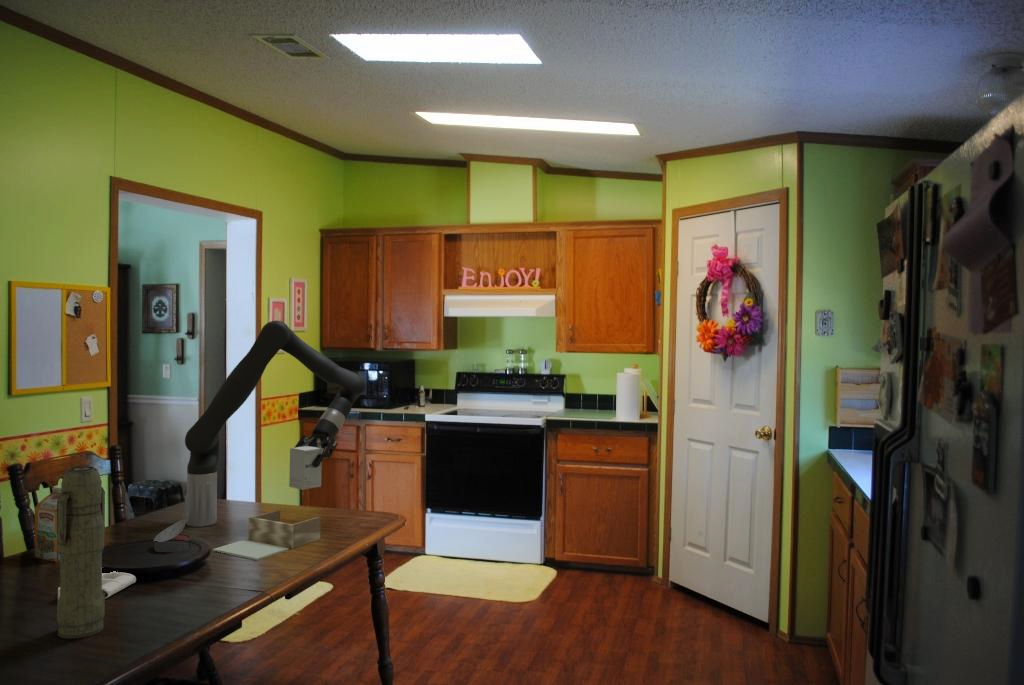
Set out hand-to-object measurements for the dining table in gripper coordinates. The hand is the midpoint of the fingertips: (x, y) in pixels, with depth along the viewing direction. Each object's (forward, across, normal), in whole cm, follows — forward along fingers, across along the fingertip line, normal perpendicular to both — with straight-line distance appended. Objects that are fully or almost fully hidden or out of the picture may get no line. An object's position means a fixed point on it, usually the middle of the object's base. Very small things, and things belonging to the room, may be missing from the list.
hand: (304, 464), depth 244 cm
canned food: (+38, -22, -6) cm, 45 cm away
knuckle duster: (+63, -6, -30) cm, 70 cm away
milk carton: (+53, -42, -21) cm, 70 cm away
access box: (+21, 0, +10) cm, 23 cm away
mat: (+31, 0, 0) cm, 31 cm away
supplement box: (+5, 0, +6) cm, 7 cm away
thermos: (+74, +15, -43) cm, 87 cm away
